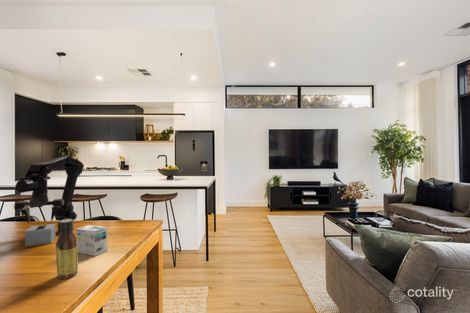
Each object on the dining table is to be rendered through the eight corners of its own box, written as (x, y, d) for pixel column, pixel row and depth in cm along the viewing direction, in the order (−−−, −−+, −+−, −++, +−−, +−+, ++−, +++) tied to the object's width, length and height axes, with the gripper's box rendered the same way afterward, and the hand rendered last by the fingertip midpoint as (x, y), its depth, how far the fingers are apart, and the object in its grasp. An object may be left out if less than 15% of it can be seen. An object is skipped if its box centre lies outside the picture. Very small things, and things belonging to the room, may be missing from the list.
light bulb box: (108, 250, 115) (107, 226, 115) (95, 256, 109) (95, 231, 108) (89, 247, 119) (89, 224, 118) (76, 253, 112) (75, 228, 112)
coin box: (55, 237, 132) (55, 223, 132) (51, 243, 124) (51, 228, 124) (31, 240, 128) (31, 226, 128) (25, 246, 120) (25, 231, 120)
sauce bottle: (63, 271, 95) (62, 217, 95) (81, 271, 96) (80, 217, 95) (52, 280, 88) (51, 222, 88) (71, 280, 89) (70, 222, 89)
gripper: (9, 193, 114) (9, 228, 115) (59, 190, 122) (59, 223, 122) (18, 189, 125) (18, 222, 125) (64, 187, 132) (64, 218, 133)
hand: (40, 221), depth 126 cm, fingers open, 9 cm apart
